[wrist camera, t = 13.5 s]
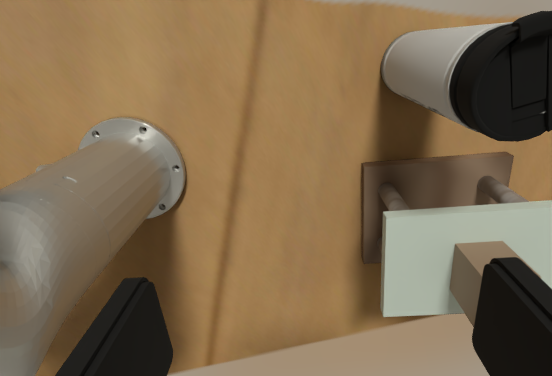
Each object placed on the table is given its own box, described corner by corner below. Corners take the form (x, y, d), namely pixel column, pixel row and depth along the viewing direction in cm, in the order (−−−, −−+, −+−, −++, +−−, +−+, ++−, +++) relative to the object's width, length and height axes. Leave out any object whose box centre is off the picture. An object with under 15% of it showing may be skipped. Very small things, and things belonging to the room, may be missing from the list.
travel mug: (437, 18, 34) (614, -12, 15) (446, 85, 36) (608, 129, 18) (374, 39, 35) (468, 36, 16) (386, 103, 37) (481, 162, 19)
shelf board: (380, 308, 35) (397, 360, 29) (382, 211, 30) (404, 250, 25) (546, 300, 33) (599, 353, 28) (573, 198, 29) (642, 236, 23)
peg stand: (361, 256, 45) (381, 315, 35) (361, 162, 40) (384, 201, 30) (489, 249, 43) (545, 308, 34) (505, 151, 38) (577, 188, 29)
